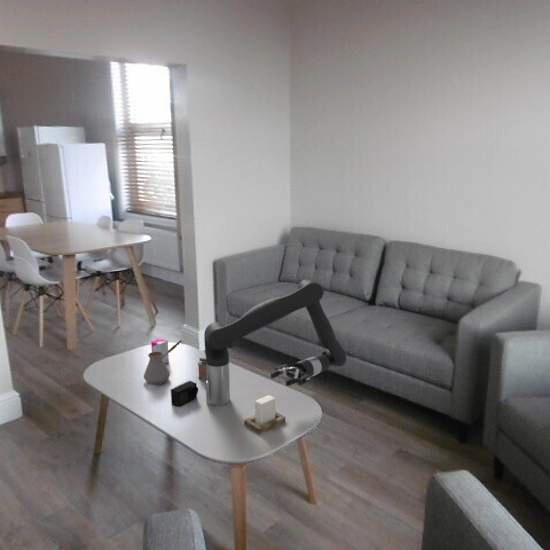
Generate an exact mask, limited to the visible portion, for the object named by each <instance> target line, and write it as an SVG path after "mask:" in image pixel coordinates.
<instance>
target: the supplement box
mask: <svg viewBox="0 0 550 550" xmlns="http://www.w3.org/2000/svg"><path fill="white" fill-rule="evenodd" d="M150 344H151V345H150V346H151V353H152V352H162V353H163V355H164V354H166V353H167V352H168V351H169V341H168V340H167V339H163V338H157V339H154V340H152V341H151V342H150ZM169 356H170V355H169V353H168V354H167V355H166V356H165V357H164V358H163V359H162V360H163V361H164V363H165V365H167V364H169V362H170V361H169V360H170V359H169Z"/></svg>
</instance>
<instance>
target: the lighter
mask: <svg viewBox="0 0 550 550" xmlns="http://www.w3.org/2000/svg"><path fill="white" fill-rule="evenodd" d="M198 359H199V362H198V363H197V365H198V380H201V381H207V367H206V357H199V358H198Z"/></svg>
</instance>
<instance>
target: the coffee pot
mask: <svg viewBox="0 0 550 550" xmlns="http://www.w3.org/2000/svg"><path fill="white" fill-rule="evenodd" d="M180 343H181V344H184V341H183V340H181V339H180V340H179V341H178V342H176V343H175V344H174V345H172V346H171V347H170V349H168V352H167V353H166V354H164V355H163V353H162V352H152V351H151V352H150V353H148V357H149V360H148V364H147V366H146V368H145V371H144V374H143V379H144V380H145V382H146V383H148V384H150V385H153V386H154V385H155V386H158V385H162V384H164V383H166V382H167V381H168V379H169V378H170V375H171V373H170V370H169V369H168V367H167V364H165V363H164V361H163V360H162V359H163V358H164V357H165V356H166V355H167V354H168V355H169V354H170V353H172V351H174V349H176V348H177V346H179V345H180Z"/></svg>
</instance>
